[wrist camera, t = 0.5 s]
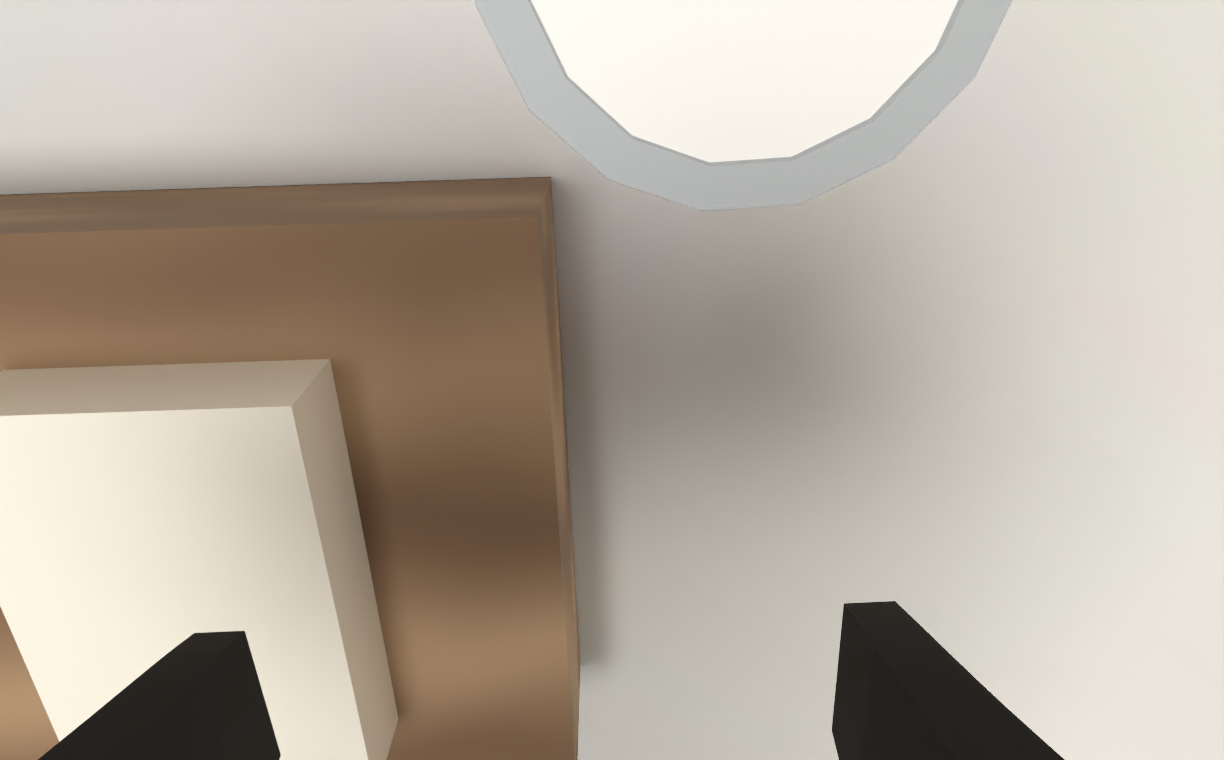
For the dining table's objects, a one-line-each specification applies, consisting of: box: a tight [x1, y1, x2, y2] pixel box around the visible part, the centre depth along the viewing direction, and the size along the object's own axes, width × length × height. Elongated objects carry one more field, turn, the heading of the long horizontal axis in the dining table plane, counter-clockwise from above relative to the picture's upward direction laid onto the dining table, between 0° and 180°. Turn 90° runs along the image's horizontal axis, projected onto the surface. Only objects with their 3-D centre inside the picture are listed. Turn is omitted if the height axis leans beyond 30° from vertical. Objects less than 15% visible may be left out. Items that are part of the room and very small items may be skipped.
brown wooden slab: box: [0, 177, 580, 760], centre depth 18 cm, size 14×18×4 cm
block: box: [0, 359, 398, 760], centre depth 15 cm, size 9×6×2 cm, turn 2°
